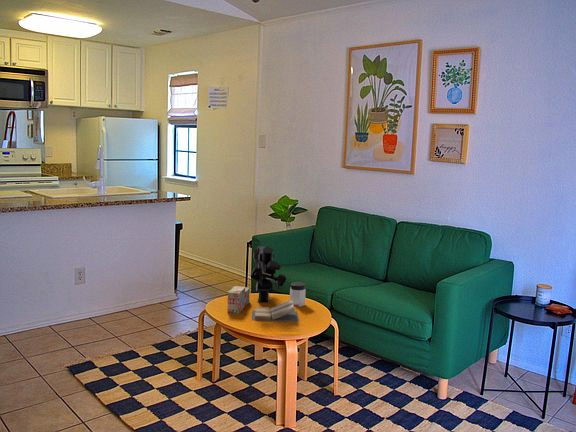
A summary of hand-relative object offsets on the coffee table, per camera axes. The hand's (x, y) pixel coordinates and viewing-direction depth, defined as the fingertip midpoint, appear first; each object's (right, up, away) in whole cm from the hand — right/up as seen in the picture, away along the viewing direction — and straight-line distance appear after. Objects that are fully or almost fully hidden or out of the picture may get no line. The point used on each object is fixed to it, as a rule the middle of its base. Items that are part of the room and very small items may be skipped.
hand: (270, 287), depth 285 cm
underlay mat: (+3, -16, +1) cm, 16 cm away
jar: (+14, -13, +24) cm, 31 cm away
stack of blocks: (-17, -14, +13) cm, 26 cm away
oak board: (-4, -15, 0) cm, 15 cm away
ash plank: (+7, -12, 0) cm, 14 cm away
